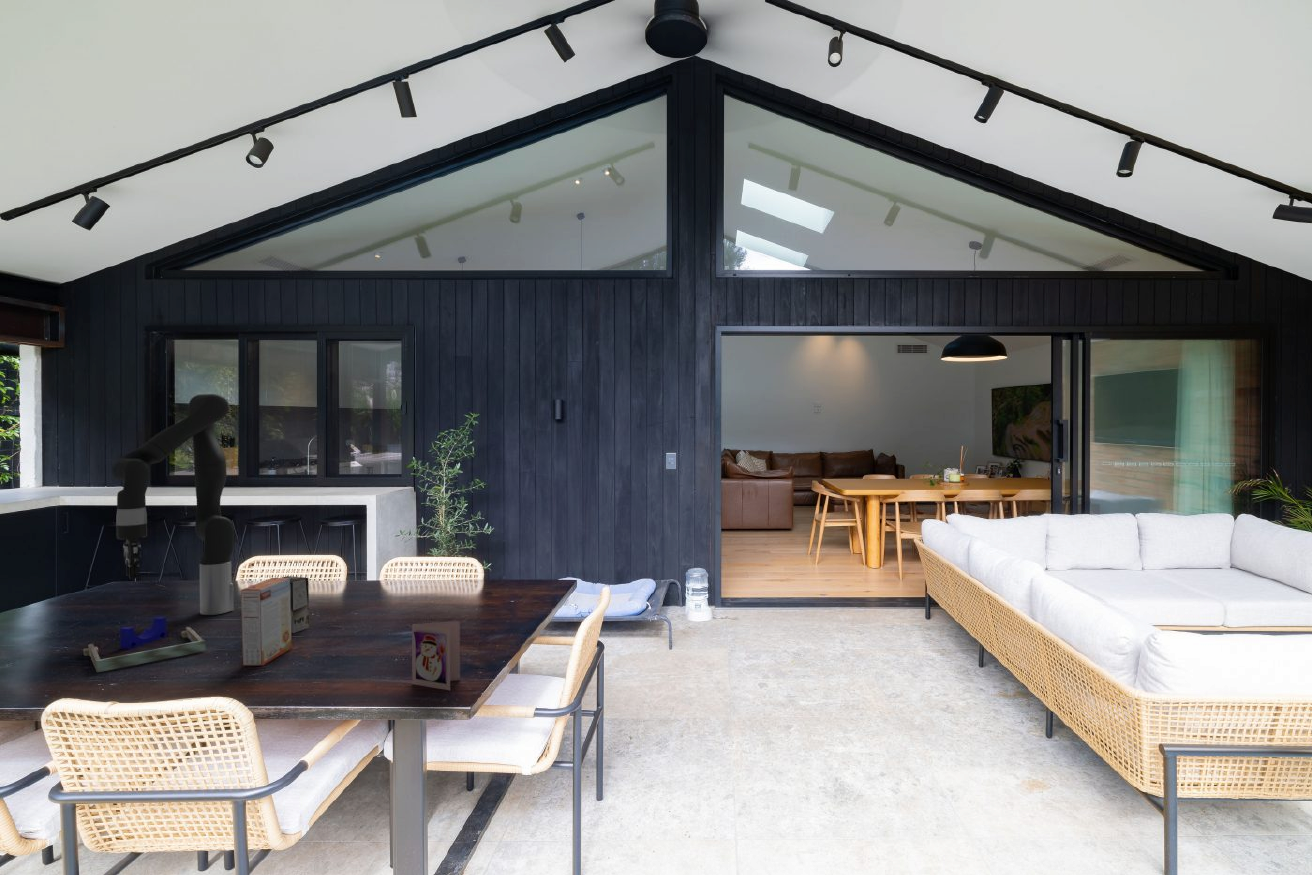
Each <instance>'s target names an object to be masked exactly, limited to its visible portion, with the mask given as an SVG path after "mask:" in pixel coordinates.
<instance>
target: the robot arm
mask: <svg viewBox="0 0 1312 875" xmlns="http://www.w3.org/2000/svg"><path fill="white" fill-rule="evenodd" d="M187 410H188V416H186V417H185V418H183V419H182V420H180V421H178V422H177V423H175V424H172V425H171V426H169V427H166V428H164V429H163V430H161V431H159V432H158V433H157V434H155V435H154V436H152V437H151V438H150V439H149V440H148V441H146V442H145V443H144V444H143V445H141V446H140V447H139V448H136V449H134V450H132V451H130V452H129V453H127V454H125V455H123V456H122V457H121V458H119V459H118V460H117V461H115V462H114V464H113V466H112V469H111V474H112V476H113V477H114V478H115V479H116V480H118V481H123V483H124V484H123V487H122V490H119V492H117V497H116V518H115V520H116V523H115V524H116V526H115V527H116V539H118V540H120V541H121V540H124V541H125V542H123V546H122V548H123V557H124V562H125V566H126V567H125V568H126V576H127V577H128V578H129V579H130V580H136V579H138V578H139V567H140V564H141V549H142V547H141V543H140V542H139V539H143V538H146V537H147V536H148V522H147V521H148V518H147V516H148V513H147V508H146V507H147V506H146V505H147V504H146V492H147V490H148V486H149V482H150V477H151V470H150V466H151V465H153V464H158V463H160V462H162V461H163V460H165V459H166V458H167V457H168V456H170V454H172V453H173V452H174V451H176V450H177V449H178V448H179V447H180V446H182V445H184V444H185V443H186V442H187V441H189V440H190V439H191V438H192V448H193V468H194V471H193V472H194V481H195V483H194V485H195V497H196V511H195V512H196V513H195V529H194V530H195V534H196V537H198V539H200V540H201V541H203V542H204V547H203V548H204V550H203V553H201V554H200V556H199V560H198V561H199V614H200V615H202V616H215V615H221V614H225V613H229V612H232V611H234V583H232V556H233V554H234V549H235V547H234V546H235V526H234V523H233V522H232V520H231V519H229V517H228V518H227V517H225V516H222V509H221V499H222V498H221V497H222V494H223V491H224V489H225V485H226V481H227V461H226V460H227V459H226V455H225V453H224V451H223V449H222V447H221V446H220V443H219V441H218V439H217V437H216V431H215V423H217V422H219V421H220V420H222V419H224V417H226V416H227V414H228V413H229V411H230V404H229V402H228V400H227V398H225V396H222V395H220V394H214V393H205V394H196V395H195V396H193V397H192V398H190V401H189V402H188V408H187Z"/></svg>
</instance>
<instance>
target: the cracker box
mask: <svg viewBox="0 0 1312 875" xmlns="http://www.w3.org/2000/svg"><path fill="white" fill-rule="evenodd" d="M240 602H241V603H240V608H241V610H240V611H241V639H242V642H241V644H242V646H241V647H242V665H243V666H244V667H250V666H251V667H253V666H254V667H256V666H257V667H259V666H260V667H263V666H265V665H267V664H268V663H269V662H271V661H273V660H275V659H276V658H278V657H280V656H281V655H283V654H285V653H286V652H288V651H290V650H292V633H291V610H290V578H282V577H271V578H268V579H266V580H262V581H260V582H258V583H256V584H253V585H250V586H247V587H245V588H242V589H241V590H240Z"/></svg>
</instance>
